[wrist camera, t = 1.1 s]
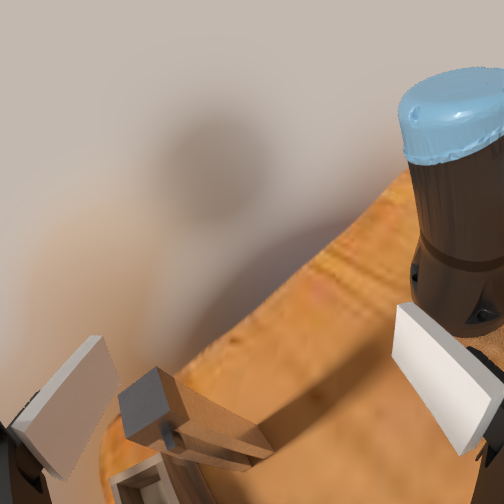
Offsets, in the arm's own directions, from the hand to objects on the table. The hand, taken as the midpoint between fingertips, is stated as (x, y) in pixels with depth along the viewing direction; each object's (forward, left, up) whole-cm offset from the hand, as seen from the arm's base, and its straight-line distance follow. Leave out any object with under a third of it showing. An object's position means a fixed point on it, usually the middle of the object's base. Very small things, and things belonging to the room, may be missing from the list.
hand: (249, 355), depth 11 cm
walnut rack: (+22, -3, -20) cm, 30 cm away
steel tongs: (+9, -5, -20) cm, 22 cm away
